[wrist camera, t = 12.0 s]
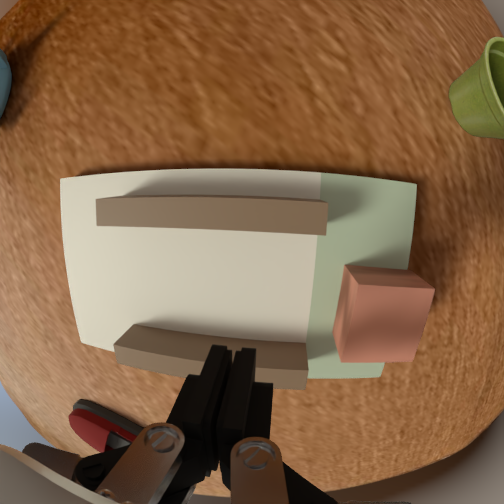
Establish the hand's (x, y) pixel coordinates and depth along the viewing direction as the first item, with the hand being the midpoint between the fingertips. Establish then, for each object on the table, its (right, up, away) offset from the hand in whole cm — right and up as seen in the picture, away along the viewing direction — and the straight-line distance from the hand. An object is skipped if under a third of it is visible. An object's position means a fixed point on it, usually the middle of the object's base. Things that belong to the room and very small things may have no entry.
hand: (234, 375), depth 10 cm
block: (+11, +1, +11) cm, 16 cm away
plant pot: (+22, +19, +8) cm, 30 cm away
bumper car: (-18, -23, +23) cm, 37 cm away
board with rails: (-2, +3, +14) cm, 15 cm away
